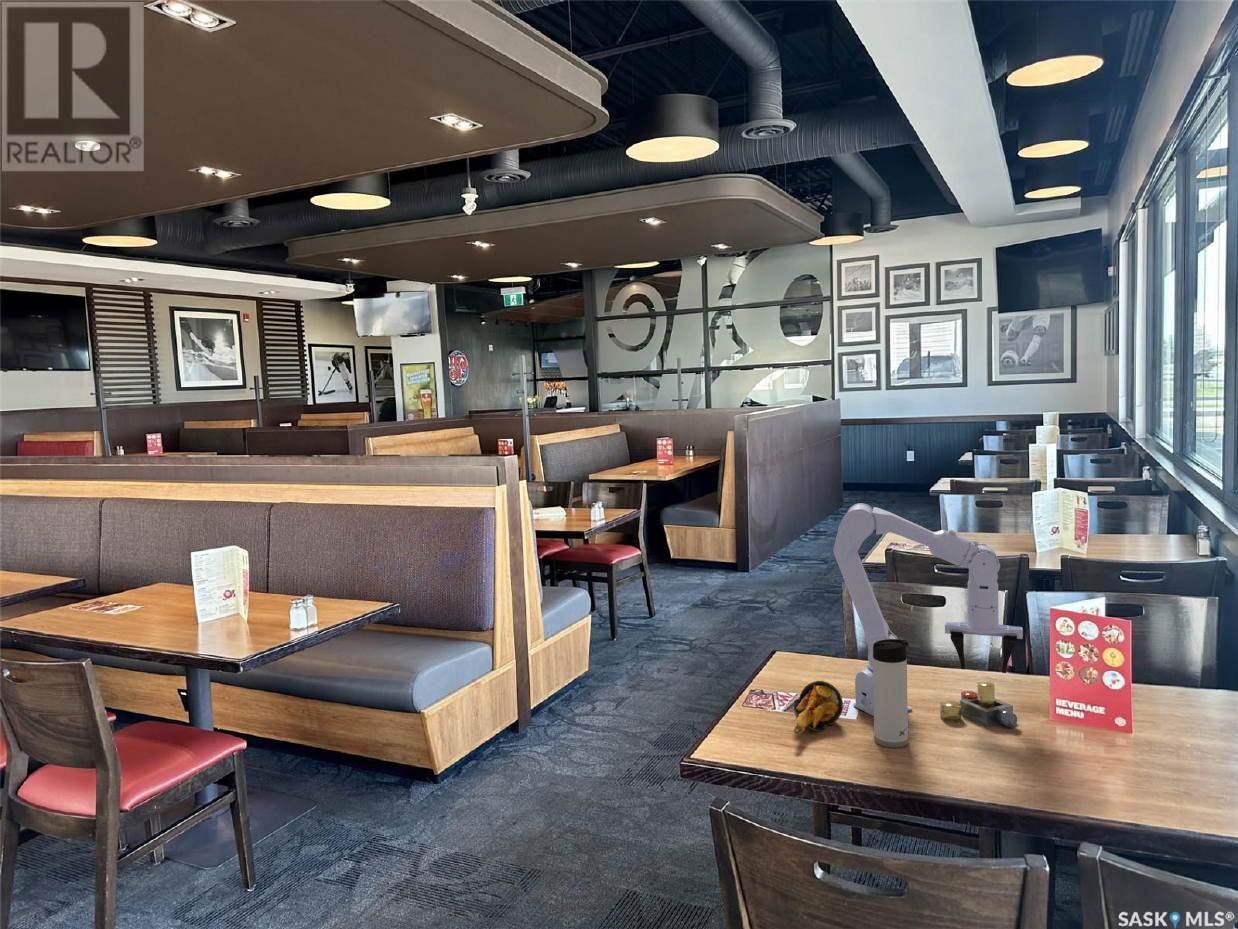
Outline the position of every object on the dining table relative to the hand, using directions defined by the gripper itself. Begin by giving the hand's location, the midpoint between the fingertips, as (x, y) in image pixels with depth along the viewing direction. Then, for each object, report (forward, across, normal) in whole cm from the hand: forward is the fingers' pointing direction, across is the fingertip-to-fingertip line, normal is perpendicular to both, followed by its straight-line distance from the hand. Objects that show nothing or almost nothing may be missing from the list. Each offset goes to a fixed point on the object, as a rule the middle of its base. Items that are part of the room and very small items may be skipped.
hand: (983, 669), depth 166 cm
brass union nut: (+10, +6, +3) cm, 12 cm away
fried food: (+10, +32, +17) cm, 38 cm away
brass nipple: (+9, 0, +1) cm, 9 cm away
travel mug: (+10, +16, +18) cm, 27 cm away
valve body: (+10, 0, 0) cm, 10 cm away
